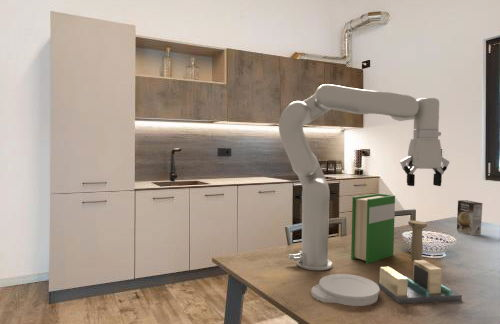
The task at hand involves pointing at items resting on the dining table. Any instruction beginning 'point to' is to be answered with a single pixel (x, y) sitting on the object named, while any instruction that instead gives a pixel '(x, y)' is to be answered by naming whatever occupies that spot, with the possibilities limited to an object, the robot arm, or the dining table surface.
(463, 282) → the dining table surface
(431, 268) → the light wooden block
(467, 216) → the coffee box
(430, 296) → the rail
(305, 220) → the robot arm
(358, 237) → the hardback book
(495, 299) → the dining table surface
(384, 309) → the dining table surface
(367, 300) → the lid
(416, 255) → the handle
